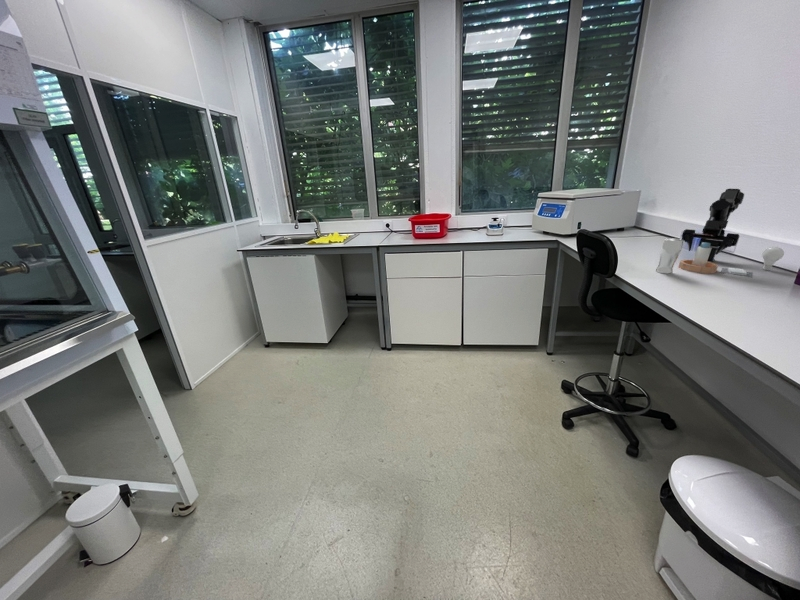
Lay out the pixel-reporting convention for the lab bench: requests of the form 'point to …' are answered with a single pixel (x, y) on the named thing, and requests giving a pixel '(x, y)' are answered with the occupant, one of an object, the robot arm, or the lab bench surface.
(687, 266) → the bowl
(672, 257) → the beer glass
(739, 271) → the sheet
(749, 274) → the mat
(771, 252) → the lightbulb
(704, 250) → the bottle
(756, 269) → the lab bench surface
